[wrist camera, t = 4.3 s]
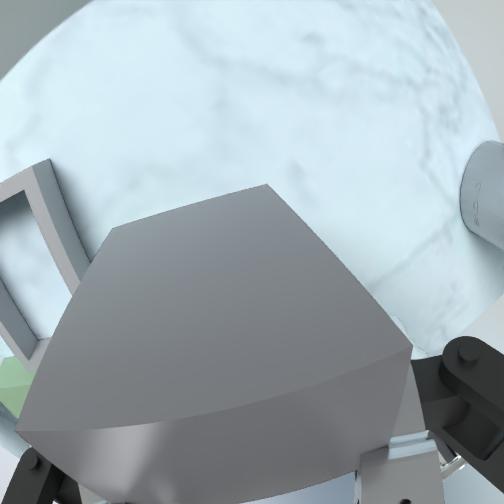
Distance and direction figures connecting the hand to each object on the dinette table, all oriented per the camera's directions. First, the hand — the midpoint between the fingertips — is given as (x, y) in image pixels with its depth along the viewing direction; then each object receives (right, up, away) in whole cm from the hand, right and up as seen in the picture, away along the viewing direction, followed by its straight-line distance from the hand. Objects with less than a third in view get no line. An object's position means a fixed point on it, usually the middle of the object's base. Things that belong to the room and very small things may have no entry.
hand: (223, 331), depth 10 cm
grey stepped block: (0, 0, +1) cm, 1 cm away
